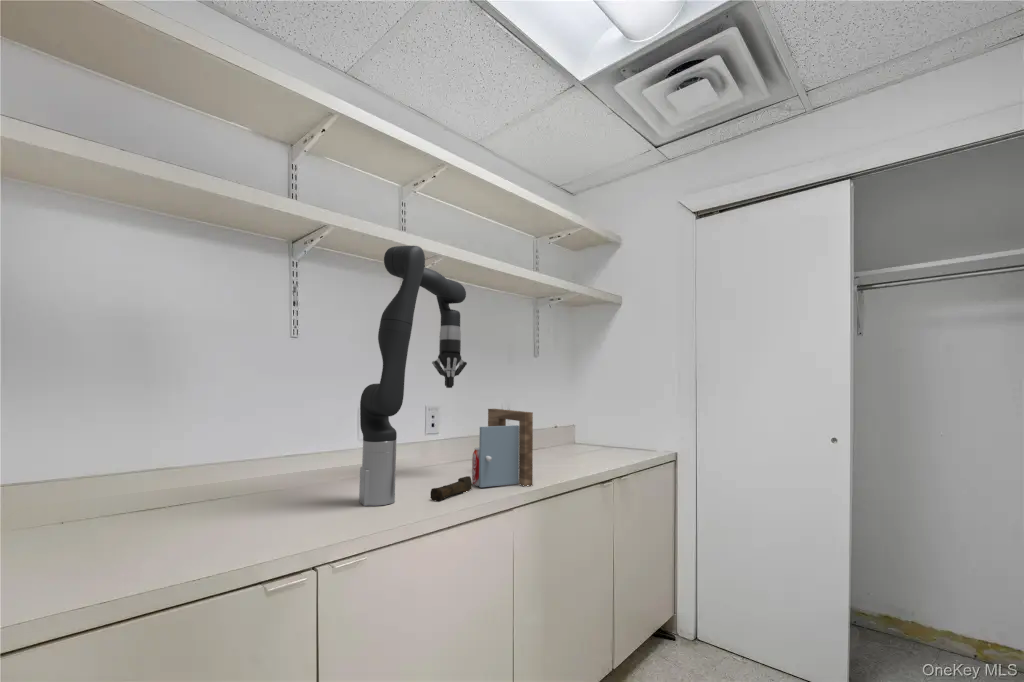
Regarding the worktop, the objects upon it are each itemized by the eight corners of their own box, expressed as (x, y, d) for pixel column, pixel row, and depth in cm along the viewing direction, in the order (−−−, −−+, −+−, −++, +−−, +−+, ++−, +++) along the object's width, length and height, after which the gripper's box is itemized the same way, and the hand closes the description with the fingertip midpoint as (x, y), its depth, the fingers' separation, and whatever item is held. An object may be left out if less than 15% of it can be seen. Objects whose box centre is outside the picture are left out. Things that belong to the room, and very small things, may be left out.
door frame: (524, 486, 162) (525, 412, 164) (487, 473, 185) (488, 408, 187) (532, 485, 163) (532, 412, 165) (494, 472, 187) (495, 408, 189)
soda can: (487, 488, 159) (487, 450, 160) (468, 486, 162) (468, 449, 163) (497, 484, 165) (497, 447, 166) (478, 482, 168) (478, 446, 169)
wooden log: (440, 503, 140) (440, 486, 140) (429, 501, 142) (430, 484, 142) (478, 491, 156) (478, 476, 157) (468, 489, 158) (468, 474, 159)
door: (516, 482, 166) (517, 425, 167) (521, 484, 163) (521, 426, 165) (478, 486, 159) (479, 426, 160) (482, 488, 156) (483, 427, 158)
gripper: (436, 337, 171) (435, 387, 169) (471, 339, 177) (470, 388, 176) (428, 339, 177) (427, 387, 176) (462, 340, 184) (462, 387, 182)
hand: (449, 387), depth 176 cm, fingers closed
